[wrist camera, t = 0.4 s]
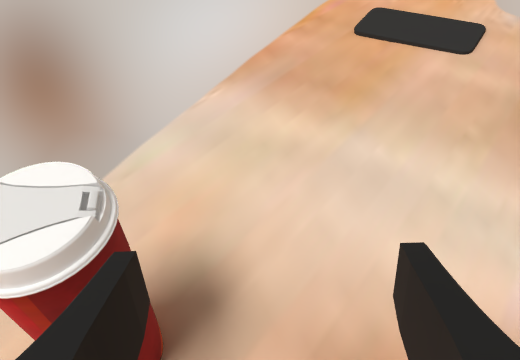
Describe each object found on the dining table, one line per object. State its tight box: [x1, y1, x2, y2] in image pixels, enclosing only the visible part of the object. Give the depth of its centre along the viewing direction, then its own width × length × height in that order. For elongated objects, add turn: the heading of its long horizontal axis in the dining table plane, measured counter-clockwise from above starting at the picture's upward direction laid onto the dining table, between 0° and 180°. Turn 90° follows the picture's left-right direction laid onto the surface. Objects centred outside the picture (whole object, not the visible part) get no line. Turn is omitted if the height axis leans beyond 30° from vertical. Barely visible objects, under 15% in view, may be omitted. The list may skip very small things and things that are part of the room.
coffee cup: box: [0, 162, 163, 360], centre depth 29 cm, size 8×8×15 cm
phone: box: [354, 8, 486, 54], centre depth 62 cm, size 7×1×15 cm
